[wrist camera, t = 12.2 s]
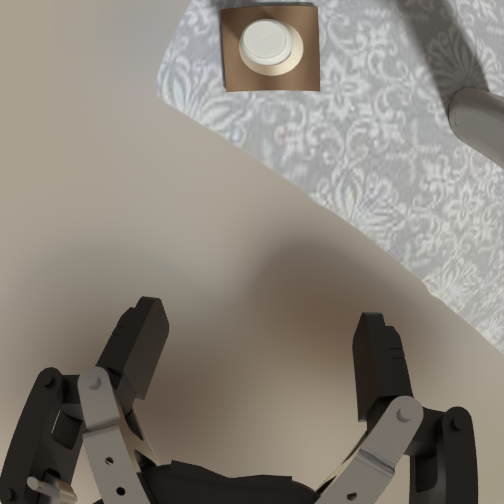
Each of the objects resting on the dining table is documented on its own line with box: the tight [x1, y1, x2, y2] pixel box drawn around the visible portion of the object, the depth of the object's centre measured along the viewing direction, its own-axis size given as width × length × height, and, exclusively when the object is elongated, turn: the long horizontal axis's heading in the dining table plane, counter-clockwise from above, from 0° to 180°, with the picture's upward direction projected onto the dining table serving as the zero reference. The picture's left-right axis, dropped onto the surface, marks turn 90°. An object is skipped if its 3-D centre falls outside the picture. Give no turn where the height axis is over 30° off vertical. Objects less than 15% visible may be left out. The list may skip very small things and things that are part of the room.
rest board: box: [221, 6, 320, 92], centre depth 29 cm, size 12×12×1 cm
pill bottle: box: [240, 19, 293, 66], centre depth 25 cm, size 5×5×10 cm
